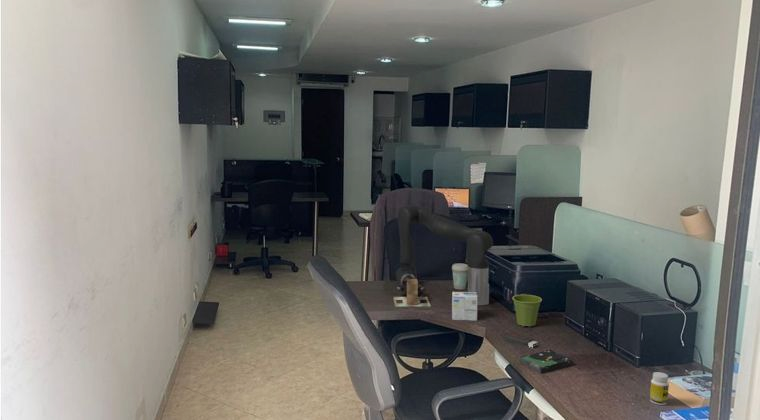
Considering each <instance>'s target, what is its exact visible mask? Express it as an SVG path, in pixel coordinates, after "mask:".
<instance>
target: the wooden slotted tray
mask: <svg viewBox="0 0 760 420" xmlns="http://www.w3.org/2000/svg"><path fill="white" fill-rule="evenodd" d="M392 299H393V303H394V307H431V304H430V301H429V299H428V296H418V301H417V305H407V296H393V298H392ZM399 300H400V301H401V300H402V302H401V303H398V302H397V301H399ZM422 300H424V301H425V300H426V303H424V302H423V303H421V301H422Z"/></svg>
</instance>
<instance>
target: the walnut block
mask: <svg viewBox="0 0 760 420" xmlns="http://www.w3.org/2000/svg"><path fill="white" fill-rule="evenodd" d="M418 285H419V281H418V279H417V278H416V279H407V292H406V297H407V305H417V301H418V297H419V296H418V294H419V292H418Z"/></svg>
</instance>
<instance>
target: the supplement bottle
mask: <svg viewBox="0 0 760 420" xmlns="http://www.w3.org/2000/svg"><path fill="white" fill-rule="evenodd" d="M668 381H669V374H666V372H665V373H664V372H660V371H659V372H658V371H655V372H653V373H652V378H651V381H650V391H649V401H650V402H651V403H652V404H654V405H659V406H665V405H668V400H669V399H668V398H669V388H670V387H669V385H670V383H669V382H668Z"/></svg>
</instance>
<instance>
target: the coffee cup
mask: <svg viewBox="0 0 760 420" xmlns="http://www.w3.org/2000/svg"><path fill="white" fill-rule="evenodd" d="M468 266H469V264H467V263H461V262H460V263H453V264H452V266H451V270H452V280H453V281H452V282H453V288H454V289H456V290H465V289H467V288H466V286H467V282H468Z"/></svg>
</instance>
